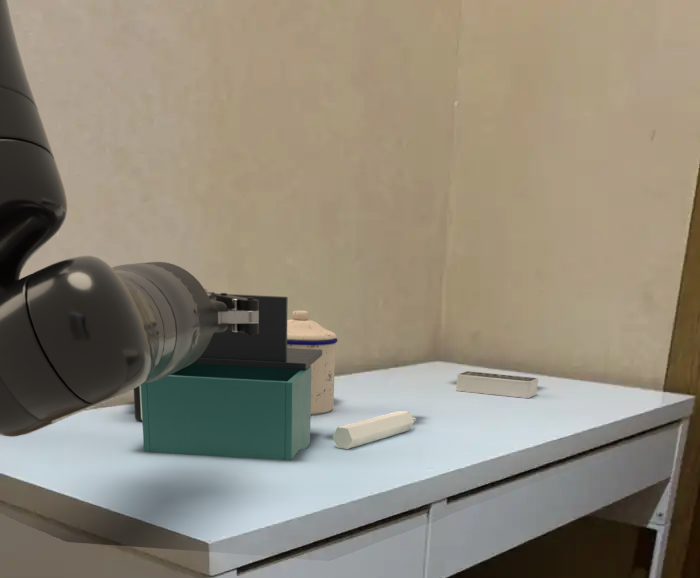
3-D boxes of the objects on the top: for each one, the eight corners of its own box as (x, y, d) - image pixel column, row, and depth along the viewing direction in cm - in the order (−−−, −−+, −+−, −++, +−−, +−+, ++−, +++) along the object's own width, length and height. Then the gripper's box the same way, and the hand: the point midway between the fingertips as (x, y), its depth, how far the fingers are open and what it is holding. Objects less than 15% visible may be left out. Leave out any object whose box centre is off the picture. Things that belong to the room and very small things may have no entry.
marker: (416, 432, 109) (344, 453, 96) (403, 421, 110) (329, 441, 97) (428, 414, 108) (355, 433, 95) (414, 403, 108) (341, 420, 95)
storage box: (144, 461, 88) (140, 374, 85) (179, 436, 99) (176, 358, 96) (291, 470, 87) (292, 382, 84) (310, 444, 98) (311, 365, 95)
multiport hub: (528, 398, 131) (530, 381, 130) (455, 390, 136) (456, 374, 135) (537, 394, 135) (539, 378, 134) (465, 386, 139) (466, 370, 138)
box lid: (165, 362, 92) (162, 291, 90) (196, 349, 103) (195, 285, 101) (305, 369, 91) (307, 298, 88) (322, 355, 102) (323, 291, 99)
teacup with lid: (259, 402, 120) (259, 307, 116) (329, 402, 122) (331, 308, 117) (268, 420, 109) (268, 315, 105) (345, 420, 111) (348, 317, 106)
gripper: (240, 267, 61) (284, 261, 77) (45, 259, 63) (129, 254, 78) (241, 384, 64) (283, 354, 80) (55, 373, 65) (133, 347, 81)
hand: (207, 305), depth 79 cm, fingers closed
